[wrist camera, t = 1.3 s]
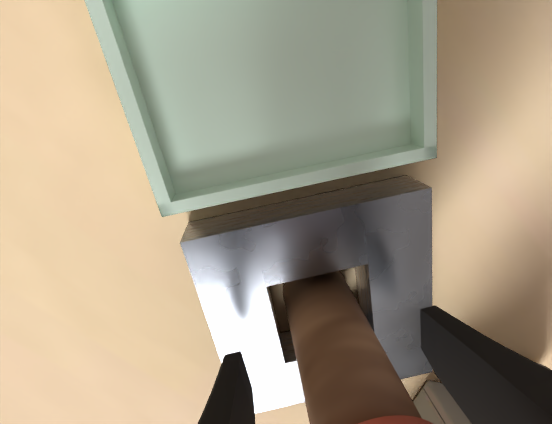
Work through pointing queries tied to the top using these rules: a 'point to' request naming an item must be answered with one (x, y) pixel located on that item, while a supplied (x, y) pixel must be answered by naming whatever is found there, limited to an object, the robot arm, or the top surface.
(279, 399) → the socket plate
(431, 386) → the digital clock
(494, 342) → the robot arm
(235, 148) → the tray
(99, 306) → the top surface
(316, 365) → the pin
